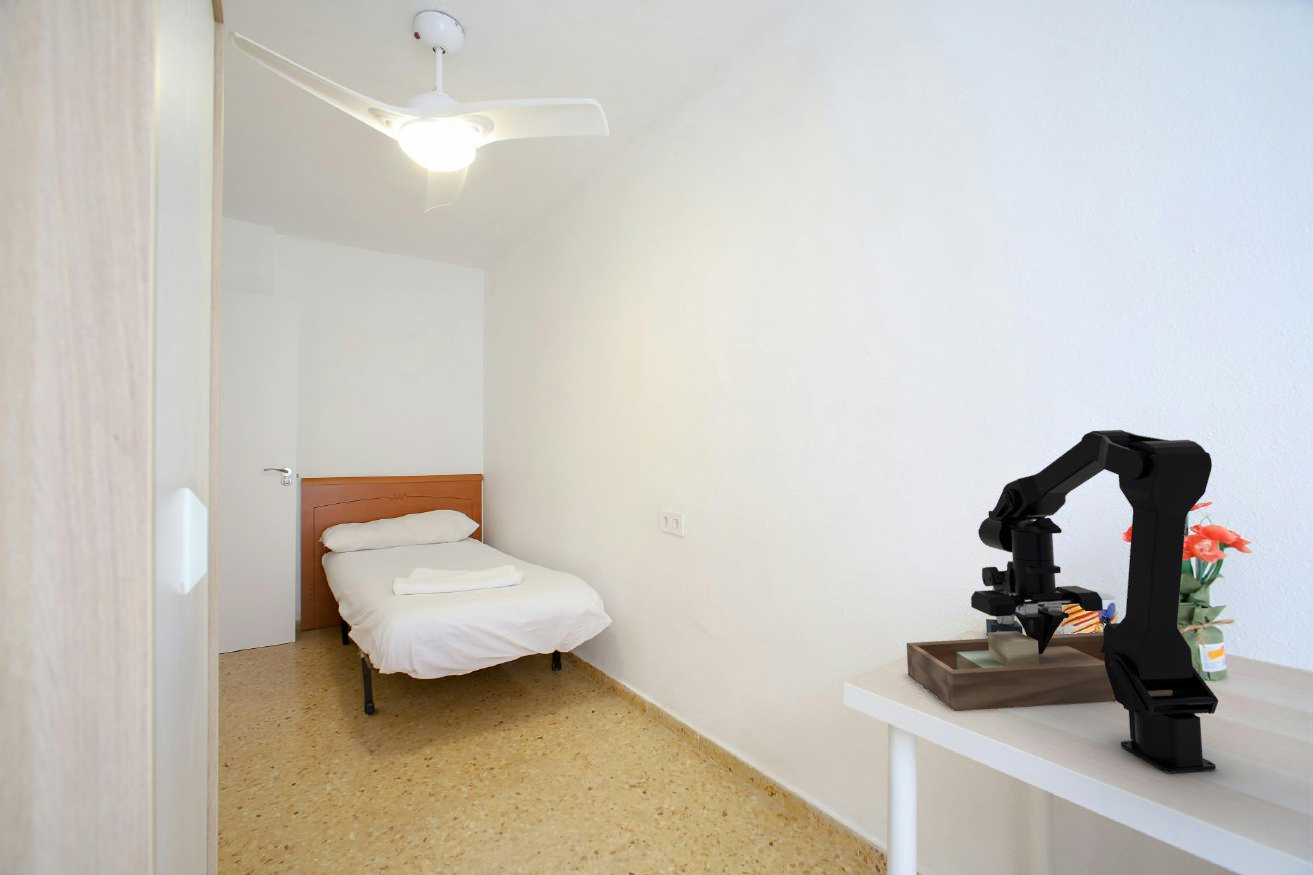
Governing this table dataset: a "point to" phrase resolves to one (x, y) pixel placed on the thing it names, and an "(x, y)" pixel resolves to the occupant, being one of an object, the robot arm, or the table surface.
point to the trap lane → (1013, 673)
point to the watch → (1003, 622)
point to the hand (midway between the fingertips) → (1038, 653)
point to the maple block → (1013, 648)
